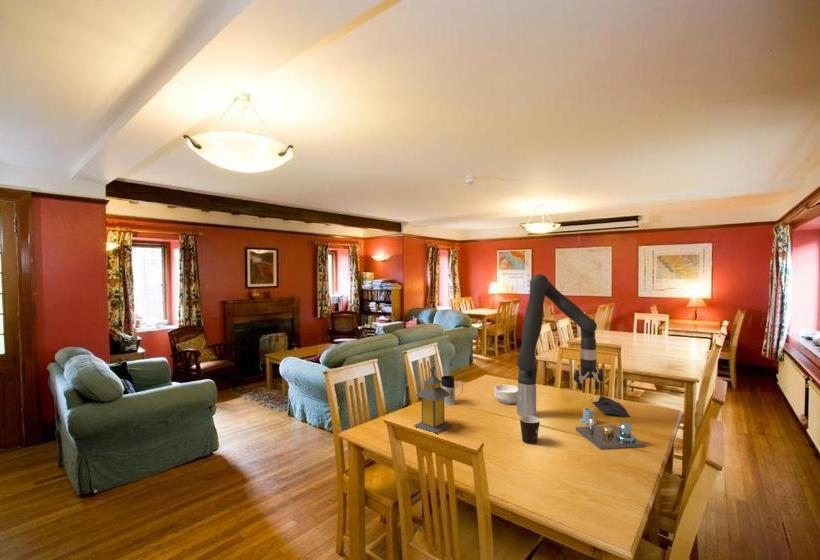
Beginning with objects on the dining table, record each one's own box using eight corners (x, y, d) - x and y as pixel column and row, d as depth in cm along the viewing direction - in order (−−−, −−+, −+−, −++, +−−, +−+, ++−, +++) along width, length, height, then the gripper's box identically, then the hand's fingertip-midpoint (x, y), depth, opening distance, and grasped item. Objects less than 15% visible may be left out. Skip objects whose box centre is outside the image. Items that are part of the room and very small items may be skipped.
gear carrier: (600, 449, 164) (600, 430, 164) (575, 430, 184) (575, 413, 184) (644, 446, 166) (644, 428, 166) (615, 428, 186) (615, 411, 186)
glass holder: (445, 399, 231) (445, 374, 231) (466, 403, 223) (466, 378, 222) (437, 403, 224) (437, 378, 223) (459, 408, 216) (459, 381, 215)
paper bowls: (524, 405, 219) (523, 391, 218) (497, 405, 219) (497, 392, 219) (516, 396, 234) (516, 384, 234) (491, 397, 234) (491, 384, 234)
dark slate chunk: (600, 416, 202) (600, 407, 202) (591, 402, 224) (591, 394, 223) (632, 419, 199) (632, 409, 198) (620, 404, 220) (620, 396, 220)
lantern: (453, 426, 191) (452, 366, 191) (435, 435, 181) (434, 371, 180) (431, 419, 201) (430, 361, 200) (413, 427, 191) (412, 367, 190)
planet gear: (585, 426, 189) (585, 412, 189) (576, 419, 197) (576, 407, 197) (600, 425, 190) (600, 412, 190) (591, 419, 197) (591, 406, 197)
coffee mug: (529, 447, 167) (529, 424, 167) (515, 439, 175) (515, 417, 175) (548, 441, 173) (548, 419, 173) (534, 434, 180) (534, 413, 180)
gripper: (578, 359, 189) (578, 392, 189) (606, 358, 190) (606, 391, 191) (571, 356, 196) (571, 388, 197) (597, 355, 198) (597, 386, 198)
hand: (588, 389), depth 194 cm, fingers open, 8 cm apart
